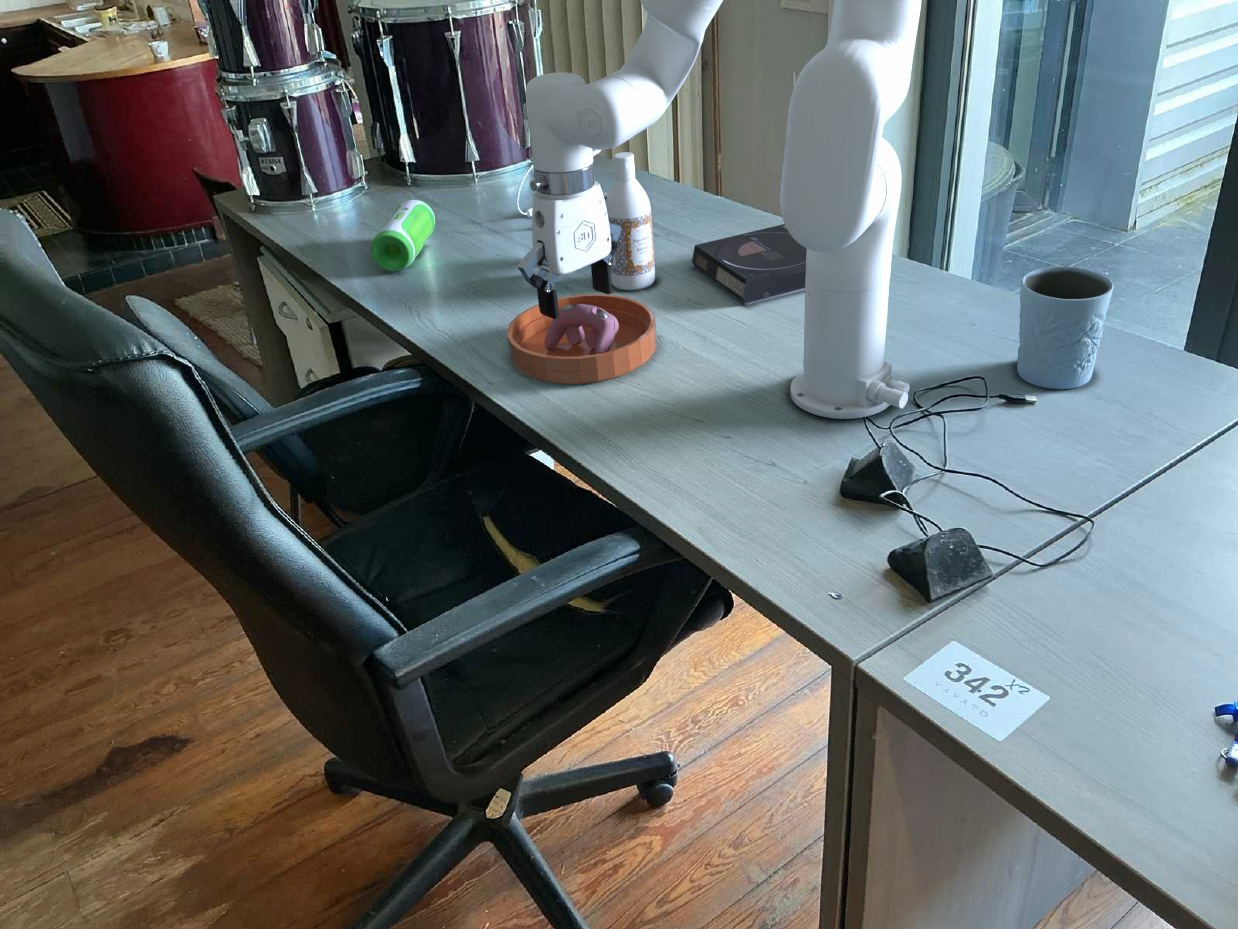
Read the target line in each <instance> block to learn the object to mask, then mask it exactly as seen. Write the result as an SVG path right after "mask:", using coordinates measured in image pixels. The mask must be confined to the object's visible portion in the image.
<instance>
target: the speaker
mask: <svg viewBox="0 0 1238 929" xmlns="http://www.w3.org/2000/svg"><path fill="white" fill-rule="evenodd" d="M435 227H436V216H435V212H434V210H433V209H432V207H431V206H430V205H429V204H428V203H426V202H425V201H423V200H420V199H409V200H406V201H404V202H402V203H400V204H399V205H398V206H397V207H396V208H395V210H394V213H392V215H391V216H390V218H389V219H388V220H387V221H386V223H385V224H384V225H383V226H382V227H381V228H380V229H379V230H378V231H377V232H376V234H375V235H374V238H373V239H372V242H371V255H372V258H373V260H374V262H375V264H377V265H378V266H379V267H380V268H382V269H383V270H385V271H388V272H392V273H393V272H394V273H395V272H400V271H402V270H405V269H406V268H408V267H409V266H411V265H412V264H413V263H414V261H415V259H417V257H418V255H419V253H420V252H421V250H422V249H423V248H424V245H425V243H426V241H427V240H428V239H429V238H430V237H431V235H432V234H433V233H434V231H435Z"/></svg>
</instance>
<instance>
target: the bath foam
mask: <svg viewBox="0 0 1238 929" xmlns="http://www.w3.org/2000/svg"><path fill="white" fill-rule="evenodd" d="M613 165H614V177H615V180H614V182H613V184H612V185H611V187H610V189H609V192H608V193H607V194H608V196H607V197H606V199H605V204H606V209H607V214H608V221H609V223H611V224H614V225H618V226H620V227H621V232H620V236H619V240H618V241H617V243H618V247H617V250H616V252H615V253H614V255H613V258H614V262H613V264H612V265H610V272H611V286H612V287H614V288H616V289H618V290H622V291H637V290H642V289H646V288H648V287H650V286H652V285H653V284H654V282H655V281H656V269H655V254H654V253H655V252H654V251H655V250H654V236H653V234H654V233H653V222H652V221H653V220H652V208H651V202H650V199H649V197H648V195H647V194H648V193H646V191H645V190H644V188H643V187H642V185H641V184H640V182H639V181H638V180H637V179H636V170H635V155H634V154H633V152H628V151H623V152H618V153H615V154H614V155H613Z"/></svg>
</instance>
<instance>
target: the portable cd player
mask: <svg viewBox="0 0 1238 929" xmlns="http://www.w3.org/2000/svg"><path fill="white" fill-rule="evenodd" d="M806 253H807V248H805V247H803V246H802V245H800V244H799V243H798V242H797V241H796V240H795V239H794V238H793V237H792V236H791V234H790V233H789V232H788V230H787V228H786V226H785V224H784V223H783V224H778V225H775V226H774V225H773V226H770V227H766V228H762V229H757V230H754V231H753V230H752V231H748V232H744V233H741V234H737V235H732V236H728V237H724V238H719V239H714V240H710V241H706V242H702V243H698V244H694V247H693V254H692V260H691V263H692V265H693V267H694V269H695V270H696V271H697V272H699V273H700V274H702V275H703V276H704V277H706V278H708V279H709V280H710V281H712V282H713V283H715V285H717V286H718V287H720V288H721V289H723V290H724V291H726V292H727V293H729V294H730V295H731V296H733V297H734V298H736V300H738V301H740V302H741V303H743V304H744V305H745V306H749V305H753V304H758V303H761V302H765V301H768V300H772V299H773V300H774V299H776V298H781V297H785V296H788V295H792V294H795V293H796V294H797V293H800V292H805V276H806Z"/></svg>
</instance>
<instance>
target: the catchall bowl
mask: <svg viewBox="0 0 1238 929" xmlns="http://www.w3.org/2000/svg"><path fill="white" fill-rule="evenodd" d="M557 298H558V308H559V310H561V308H562V307H563V306H567V305H575V304H587V305H593V306H596V307H599V308H601V309H603V310H605V311H606V312H608V313H609V314H611V315H613V316H614V317H615V318H616V319H617V321H618V324H619V327H618V331H617V333H616V335H615V337H614V340H613V343H612V346H611V349H610V351H608V352H604V353H600V354H595V349H593V348H590V347H589V346H588V345H587V344H586V337H587V335H588V333H589V332H590V331H592V328H590V327H586V326H582V329H583V331H584V335H585V338H584V341H583V342H582V343H581V344H571V343H570V342H569V341H568V339H567V335H566V333H564V335H563V337H562V338H561V340H560V341H559V342H558V344H557V345H556V346H555V347H554V348H552V349H550V350H549V349H547V348H546V347H545V336H546V334H547V332H548V330H549V328H550V325H551V323H552V321H553V318H550V317H547V316H545V315H542V314H541V313H540V309H539V303H537V304H536V305H534V306H531V307H529V308H527V309H525V310H524V311H521V312H520V313H519V314H517V315H516V316H515V317H514V318H513V319H512V321H510V323H509V325H508V326H507V329H506V338H507V345H508V352H509V359H510V361H511V363H512V365H513V367H514V368H515V369H516V370H517V371H519V372H520V373H521V374H523V375H526V376H527V377H530V378H532V379H535V380H538V381H541V382H544V383H545V382H546V383H551V384H560V385H584V384H593V383H599V382H604V381H608V380H609V381H610V380H612V379H615V378H618V377H621V376H624V375H626V374H629V373H631V372H632V371H634V370H636V369H638V368H639V367H641V366H643V365H644V364H645V363H646V362H647V361H648V360H650V359H651V357H652V356H653V354H654V353H655V352H656V349H657V345H658V344H657V343H658V341H657V340H658V339H657V326H656V325H657V324H656V317H655V315H654V312H653V311H652V310H651V309H650V308H649V307H648V306H647V305H645V304H644V303H642V302H640V301H638V300H634V299H632V298H629V297H625V296H620V295H615V294H614V295H613V294H604V293H600V294H599V293H593V294H591V293H590V294H589V293H588V294H576V295H568V296H563V297H557Z"/></svg>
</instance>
